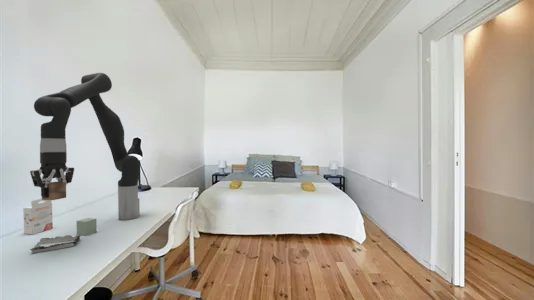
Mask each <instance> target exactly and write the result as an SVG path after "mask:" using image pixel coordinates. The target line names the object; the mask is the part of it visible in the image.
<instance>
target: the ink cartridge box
mask: <svg viewBox="0 0 534 300" xmlns="http://www.w3.org/2000/svg"><path fill="white" fill-rule="evenodd" d="M30 202H31V205H30V206H23V210H22V211H23V233H24V235H35V234H40V233H43V232H46V231H48V230H52V229H53V228H54V227H53V203H52V200H42V198H39V199H35V200H34V199H33V200H30Z"/></svg>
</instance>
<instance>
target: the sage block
mask: <svg viewBox="0 0 534 300" xmlns="http://www.w3.org/2000/svg"><path fill="white" fill-rule="evenodd" d="M97 231H98V230H97V218H95V217H94V218H91V217H86V218H83V219H80V220H76V235H80V234H81V235H80V236H83V237H87V236H90V235H92V234H95V233H97Z"/></svg>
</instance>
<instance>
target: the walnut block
mask: <svg viewBox="0 0 534 300" xmlns="http://www.w3.org/2000/svg"><path fill="white" fill-rule="evenodd" d="M48 188H49V198H43V197H42V196H41V199H42V200H51V201H56V200H61V199H66V198H67V184H66V182H58V181H51V182H50V183H49V186H48Z"/></svg>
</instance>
